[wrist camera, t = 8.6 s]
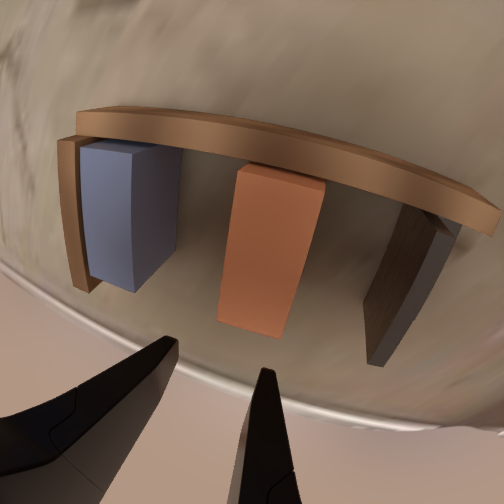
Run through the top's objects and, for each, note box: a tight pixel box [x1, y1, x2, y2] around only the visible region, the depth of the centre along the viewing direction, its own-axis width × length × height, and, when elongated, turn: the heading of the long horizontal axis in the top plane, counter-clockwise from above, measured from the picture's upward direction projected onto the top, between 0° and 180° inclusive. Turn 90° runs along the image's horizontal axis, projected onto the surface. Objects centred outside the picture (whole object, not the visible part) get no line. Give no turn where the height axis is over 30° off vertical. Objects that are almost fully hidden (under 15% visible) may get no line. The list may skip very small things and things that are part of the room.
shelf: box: [57, 106, 502, 293], centre depth 16 cm, size 23×11×6 cm, turn 80°
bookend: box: [363, 203, 462, 367], centre depth 15 cm, size 4×8×6 cm, turn 170°
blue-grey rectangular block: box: [80, 138, 183, 293], centre depth 17 cm, size 4×8×6 cm, turn 170°
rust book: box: [216, 161, 326, 339], centre depth 16 cm, size 4×8×6 cm, turn 170°
